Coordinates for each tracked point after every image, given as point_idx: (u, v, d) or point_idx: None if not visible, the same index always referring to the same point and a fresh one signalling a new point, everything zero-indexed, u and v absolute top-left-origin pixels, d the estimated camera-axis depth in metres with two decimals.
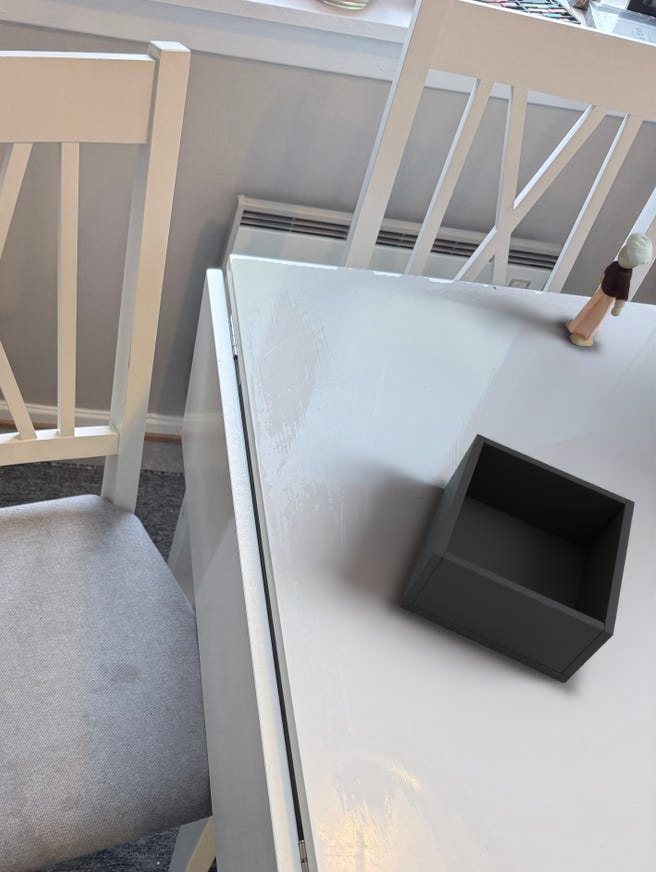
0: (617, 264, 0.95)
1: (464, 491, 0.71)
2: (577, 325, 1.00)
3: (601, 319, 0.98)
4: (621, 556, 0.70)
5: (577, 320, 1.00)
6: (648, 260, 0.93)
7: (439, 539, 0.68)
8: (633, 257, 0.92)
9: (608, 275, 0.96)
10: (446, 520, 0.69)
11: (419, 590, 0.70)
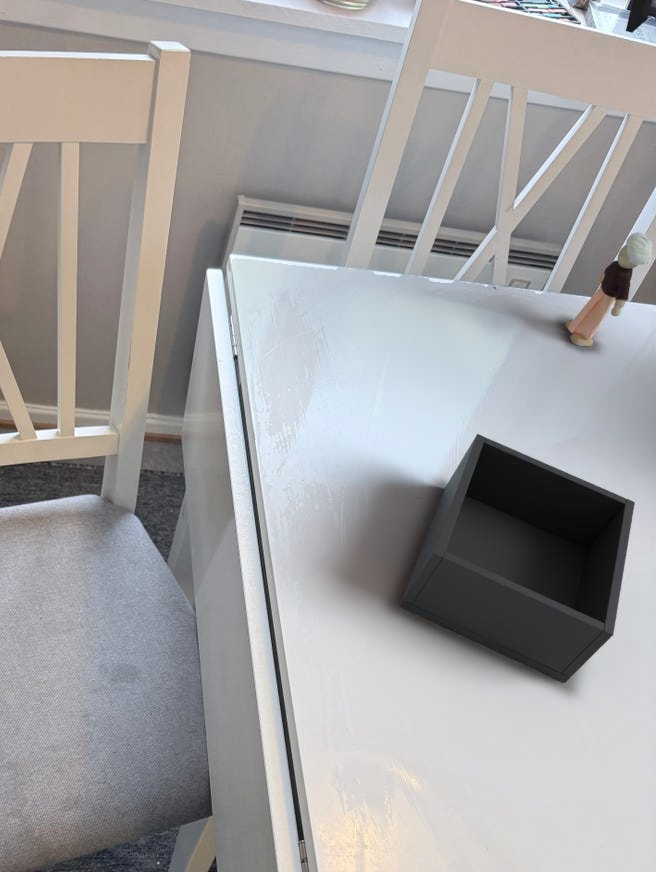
0: (617, 264, 0.95)
1: (464, 491, 0.71)
2: (577, 325, 1.00)
3: (601, 319, 0.98)
4: (621, 556, 0.70)
5: (577, 320, 1.00)
6: (648, 260, 0.93)
7: (439, 539, 0.68)
8: (633, 257, 0.92)
9: (608, 275, 0.96)
10: (446, 520, 0.69)
11: (419, 590, 0.70)
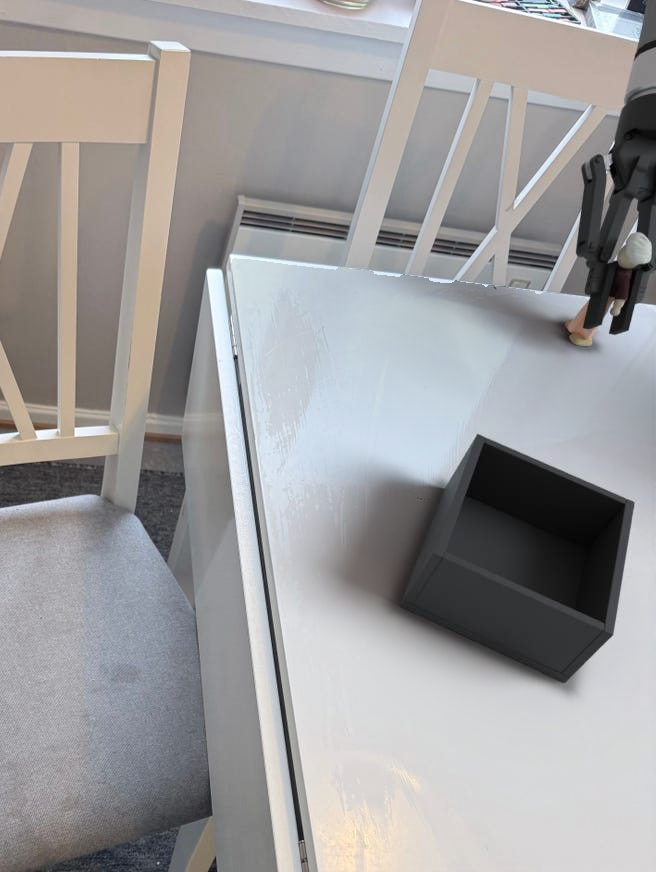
0: None
1: (464, 491, 0.71)
2: (577, 324, 1.00)
3: None
4: (621, 556, 0.70)
5: (576, 320, 1.00)
6: (647, 260, 0.93)
7: (439, 539, 0.68)
8: (632, 256, 0.92)
9: None
10: (446, 520, 0.69)
11: (419, 590, 0.70)
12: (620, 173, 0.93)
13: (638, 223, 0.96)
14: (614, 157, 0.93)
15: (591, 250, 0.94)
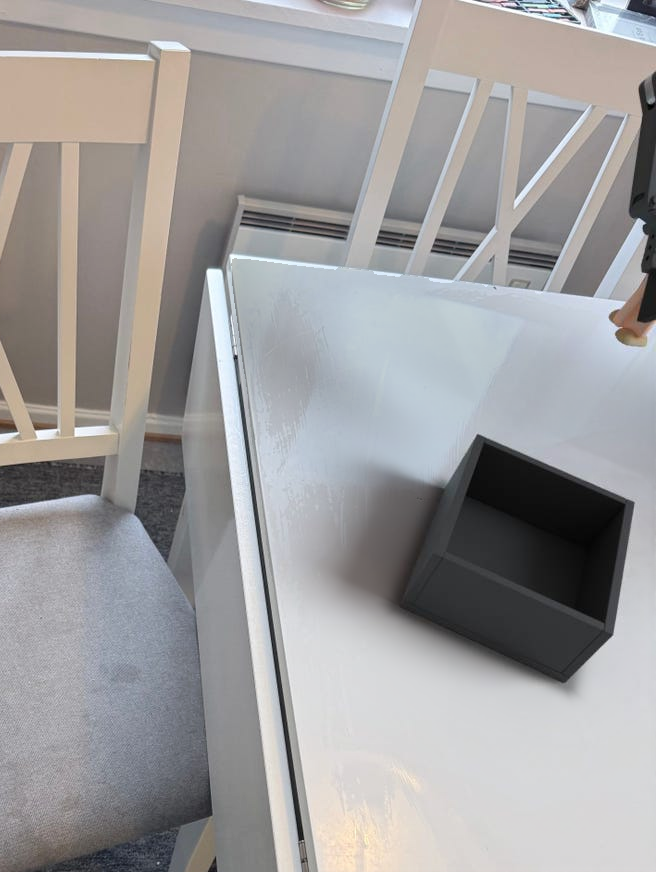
0: None
1: (464, 491, 0.71)
2: (627, 316, 0.71)
3: None
4: (621, 556, 0.70)
5: (626, 309, 0.70)
6: None
7: (439, 539, 0.68)
8: None
9: None
10: (446, 520, 0.69)
11: (419, 590, 0.70)
12: None
13: None
14: None
15: (653, 207, 0.64)
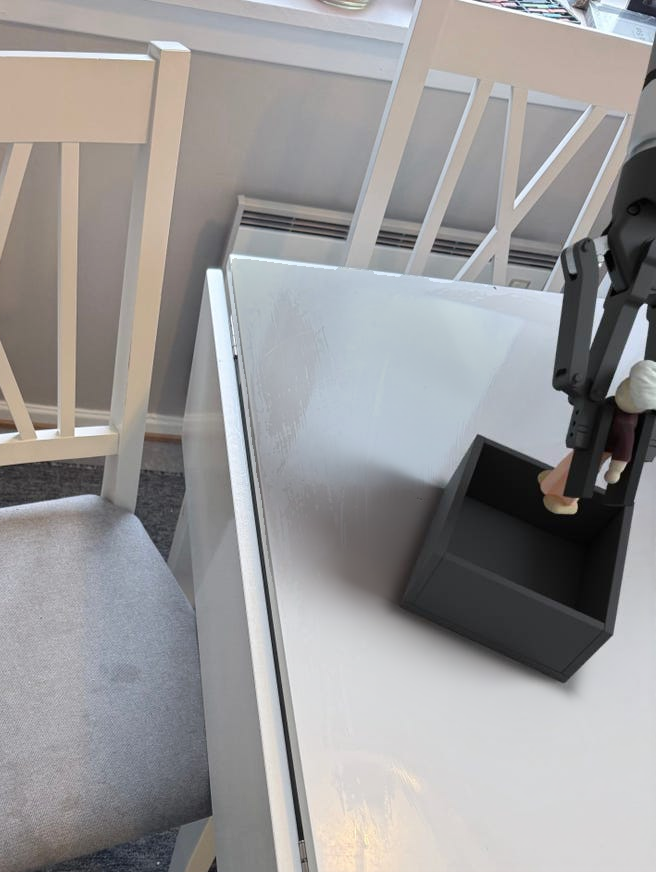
0: (614, 404, 0.61)
1: (464, 491, 0.71)
2: (554, 484, 0.66)
3: None
4: (621, 556, 0.70)
5: (554, 478, 0.66)
6: None
7: (439, 539, 0.68)
8: (639, 399, 0.59)
9: None
10: (446, 520, 0.69)
11: (419, 590, 0.70)
12: (621, 266, 0.60)
13: (648, 339, 0.62)
14: (611, 242, 0.59)
15: (575, 385, 0.60)
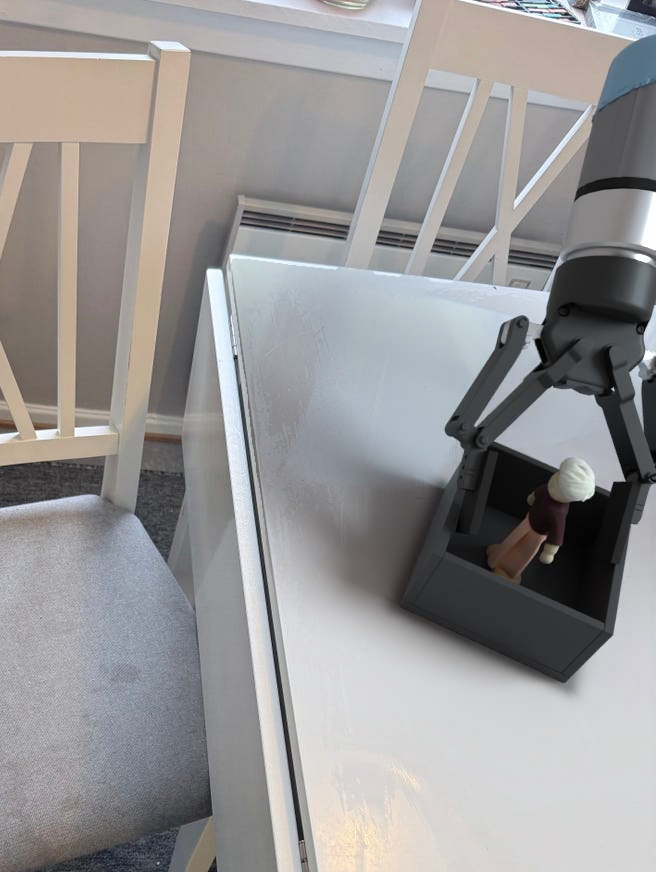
0: (548, 493, 0.69)
1: (464, 491, 0.71)
2: (499, 560, 0.74)
3: (529, 559, 0.72)
4: None
5: (498, 555, 0.73)
6: (589, 495, 0.66)
7: (439, 539, 0.68)
8: (567, 492, 0.66)
9: (537, 505, 0.70)
10: (446, 520, 0.69)
11: (419, 590, 0.70)
12: (552, 361, 0.66)
13: (608, 422, 0.69)
14: (543, 339, 0.66)
15: (459, 432, 0.66)
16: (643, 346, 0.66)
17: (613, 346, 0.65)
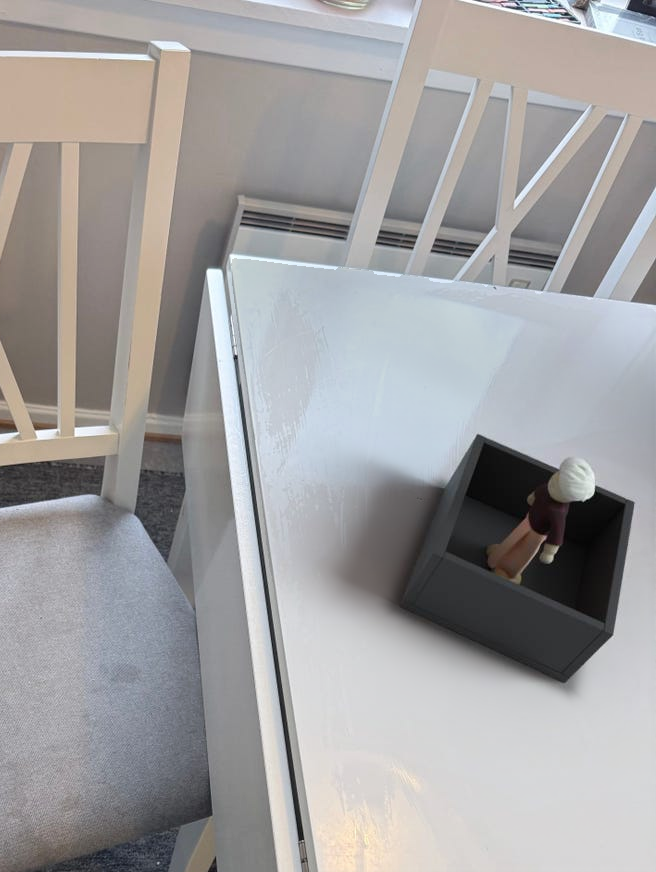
0: (548, 493, 0.69)
1: (464, 491, 0.71)
2: (499, 560, 0.74)
3: (529, 559, 0.72)
4: (621, 556, 0.70)
5: (498, 555, 0.73)
6: (589, 495, 0.66)
7: (439, 539, 0.68)
8: (567, 492, 0.66)
9: (537, 505, 0.70)
10: (446, 520, 0.69)
11: (419, 590, 0.70)
12: None
13: None
14: None
15: None
16: None
17: None
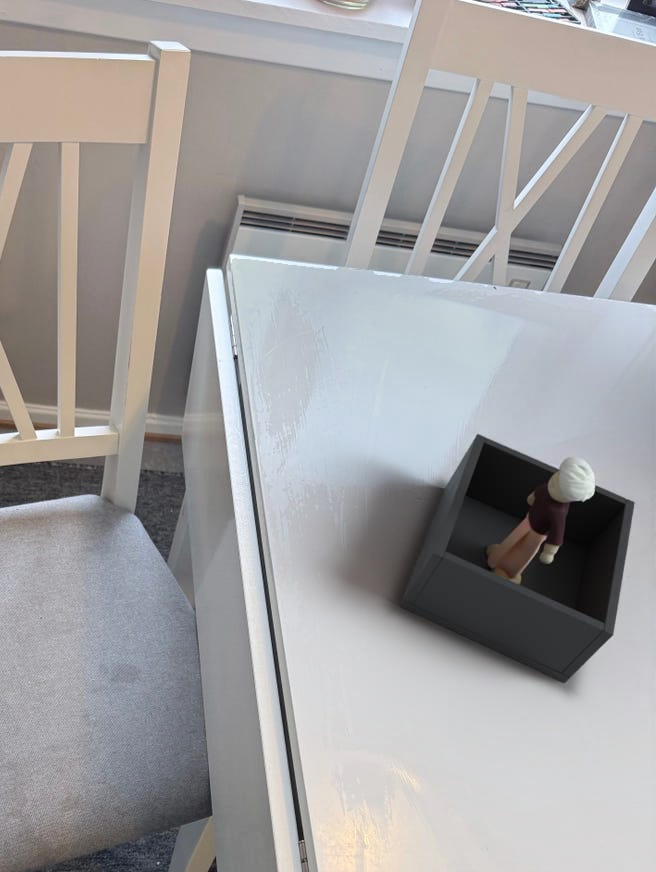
0: (548, 493, 0.69)
1: (464, 491, 0.71)
2: (499, 560, 0.74)
3: (529, 559, 0.72)
4: (621, 556, 0.70)
5: (498, 555, 0.73)
6: (589, 495, 0.66)
7: (439, 539, 0.68)
8: (567, 492, 0.66)
9: (537, 505, 0.70)
10: (446, 520, 0.69)
11: (419, 590, 0.70)
12: None
13: None
14: None
15: None
16: None
17: None
